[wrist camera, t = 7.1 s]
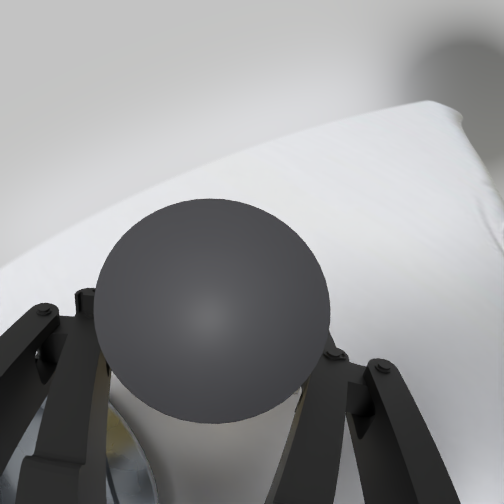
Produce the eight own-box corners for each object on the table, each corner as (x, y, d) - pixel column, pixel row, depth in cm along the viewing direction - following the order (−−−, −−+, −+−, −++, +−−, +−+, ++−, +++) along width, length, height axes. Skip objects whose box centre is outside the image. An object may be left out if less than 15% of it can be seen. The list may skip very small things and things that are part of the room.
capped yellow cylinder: (201, 294, 20) (192, 168, 10) (281, 347, 19) (364, 272, 9) (143, 369, 17) (52, 316, 7) (226, 428, 16) (247, 471, 6)
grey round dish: (36, 317, 18) (9, 299, 14) (212, 468, 15) (212, 483, 12) (-43, 446, 10) (-71, 445, 7) (100, 588, 8) (85, 609, 4)
